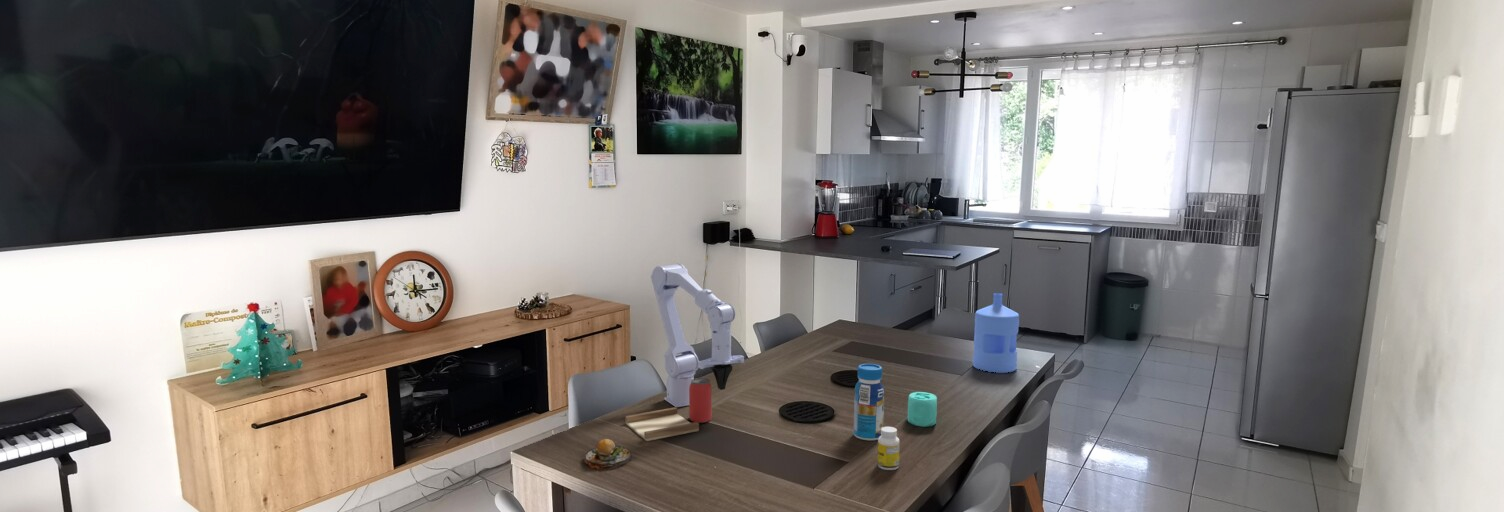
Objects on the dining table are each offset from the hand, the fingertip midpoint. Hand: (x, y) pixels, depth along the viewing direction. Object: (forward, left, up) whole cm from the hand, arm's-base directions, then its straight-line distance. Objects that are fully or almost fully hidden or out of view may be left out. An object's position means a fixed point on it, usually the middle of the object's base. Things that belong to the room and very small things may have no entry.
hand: (721, 388), depth 225 cm
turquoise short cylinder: (+34, +49, -9) cm, 60 cm away
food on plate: (+15, -41, -9) cm, 45 cm away
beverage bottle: (+35, +28, -9) cm, 46 cm away
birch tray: (0, -20, -8) cm, 21 cm away
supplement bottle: (+54, +19, -9) cm, 58 cm away
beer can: (0, -7, -9) cm, 11 cm away
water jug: (+4, +113, -9) cm, 113 cm away
